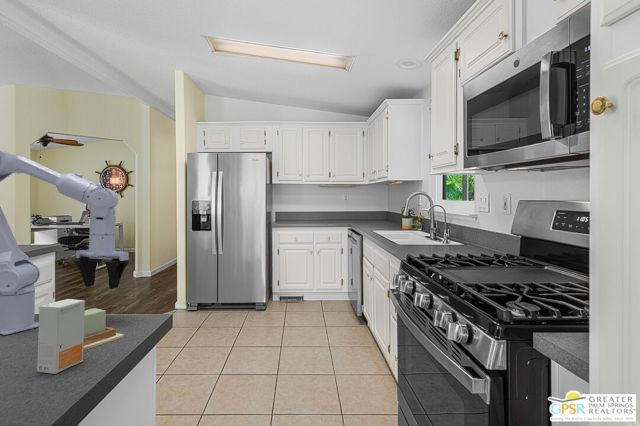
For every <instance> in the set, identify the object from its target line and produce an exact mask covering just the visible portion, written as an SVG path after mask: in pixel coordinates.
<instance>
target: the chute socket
mask: <svg viewBox="0 0 640 426" xmlns="http://www.w3.org/2000/svg"><path fill="white" fill-rule="evenodd" d="M122 338H125V334H124V333H118V332H117V328H114V327H109V326H106V327H105V331H104V332H100V333H97V334H94V335H90V336H87V337H84V344H83V352H84V351H87V350H89V349H92V348H95V347H99V346H101V345H105V344H107V343H111V342H113V341H116V340H118V339H122Z"/></svg>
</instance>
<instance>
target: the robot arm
mask: <svg viewBox="0 0 640 426" xmlns="http://www.w3.org/2000/svg"><path fill="white" fill-rule="evenodd" d="M12 174H17V175H19V174H25V175H28V176H30V177H33V178H34V179H35V178H36V179H39V180H40V181H43V182H45V183H48V184H51V185H53V186H55V187H56V189H57V192H58V193H59V194H61V195H64V196H65V197H67V198H71V199H72V200H75V201H78V202H79V203H82V204H85V205H88V207H89V208H90V214H89V215H90V216H89V238H88V240H89V245H88V248H89V249H80V250H76V252H75V258H76V260H74V264H75V265H76V267H77V268H78V270H79V271H80V274H81V276H82V280H83V284H84V286H85V287H87V288H89V287H92V286H94V285H95V281H96V280H95V279H96V271H97V266H98V263H99V262H100V261H99V260H108V261H105V262H104V264H105V266H106V267H105V268H106V269H107V273H108V286H109V289H110V290H113V289H117V288H119V285H120V280H121V278H122V276H123V273H124V271H125V269H126V267H127V266H128V264H129V255H130V253H129V252H126V251H120V250H119V251H118V250H116V225H117V224H116V219H117V218H116V206H117V205H118V204H119V196H118V194H117V193H116V192H115V191H114V190H112V189H111V188H109V187H108V188H107V187H102V183H99V182H93V181H90V180H88V179H86V178H84V177H83V174H80V173H78V172H76V173H75V174H74V173H72V172H70V173H69V172H68V173H64V174H61V173H59V172H58V171H55V170H53V169H51V168H50V167H47V166H45V165H43V164H40V163H39V162H36V161H34V160H31V159H30V158H28V157H24V156H22V155H17V154H14V153H11V152H9V151H6V150H0V183H1V182H2V181H4V180H5V179H7V178H8V177H10V176H11V175H12ZM40 275H41V272H40V269H39V267H38V266H37V265H36V264H35V263H33V262H32V261H31V260H30V257H29V256H28V255H27V254H26V253H25V252H23V251H22V250H21V249H20V247H19V244H18V243H17V240H16V238H15V236H14V234H13V232H12V229H11V227H10V224H9V223H8V220H7V218H6V216H5V214H4V211H3V210H2V207H1V206H0V335H4V336H5V335H10V334H15V333H18V332H22V331H26V330H27V331H28V330H31V329H35V328H39V322H38V321H37V322H36V321H35V310H36V306H35V304H36V301H35V300H36V287H35V284H36V283H37V282H38V280H39V279H40Z"/></svg>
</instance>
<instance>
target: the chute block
mask: <svg viewBox="0 0 640 426" xmlns="http://www.w3.org/2000/svg"><path fill="white" fill-rule="evenodd" d="M106 318H107V310H106V309H105V310H104V309H100V308H96V307H95V308H90V309H89V308H88V309H86V310H85V314H84V337H87V336H90V335H94V334H97V333H100V332H104V331H105V327H107V326H106V323H107V322H106V321H107V320H106Z"/></svg>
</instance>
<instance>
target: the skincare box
mask: <svg viewBox="0 0 640 426" xmlns="http://www.w3.org/2000/svg"><path fill="white" fill-rule="evenodd" d="M85 306H86V300H83V299H72V298H66V299H63V300H58V301H54V302H50V303H47V304H42V305H40V306H39V307H38V308H39V309H38V323H39V327H38V336H37V367H36V371H37V372H38V373H44V374H52V375H53V374H54V375H57V374H58V373H60V372H63V371H65V370H66V369H69V368H71V367H72V366H75V365H78V364H79V363H82V362H83V361H84V351H83V344H84V314H85V309H86V307H85Z"/></svg>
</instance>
